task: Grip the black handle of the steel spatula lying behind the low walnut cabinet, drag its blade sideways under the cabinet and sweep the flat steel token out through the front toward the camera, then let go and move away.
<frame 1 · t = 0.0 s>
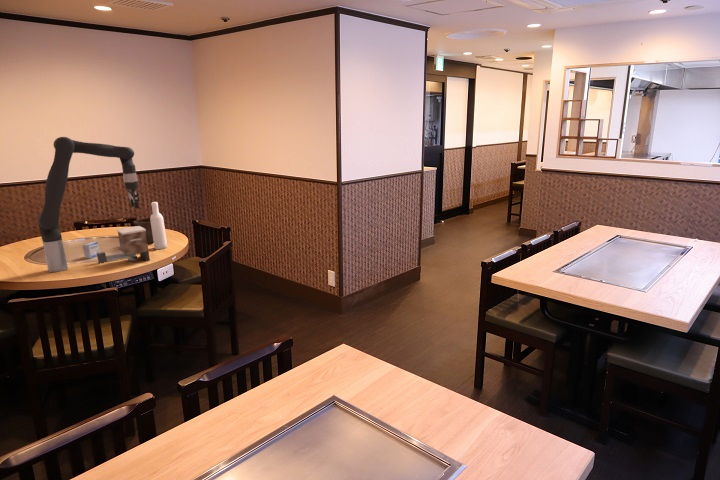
hand: (135, 207, 285), 29 cm above the table, tool pointing down, fingers open, 8 cm apart
walnut cabinet: (136, 260, 278), on the table
bottle: (161, 248, 305), on the table
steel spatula: (102, 262, 276), on the table
steel token: (133, 260, 280), on the table
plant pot: (149, 243, 318), on the table
medicine box: (92, 257, 290), on the table
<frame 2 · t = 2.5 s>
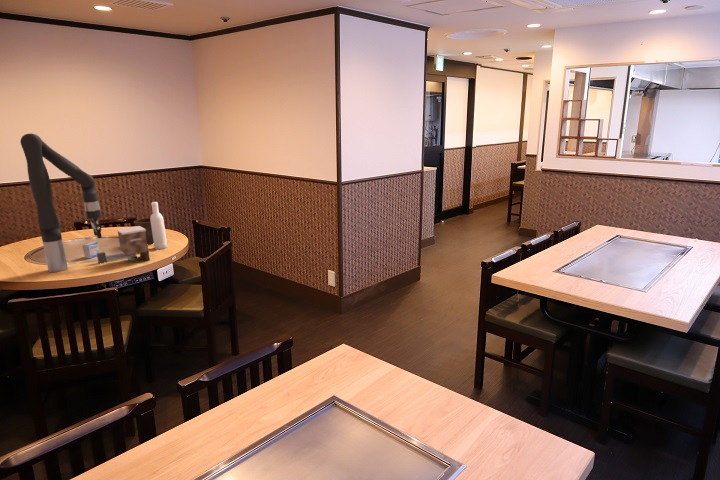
hand: (98, 236, 273), 16 cm above the table, tool pointing down, fingers open, 8 cm apart
nothing on the table moved.
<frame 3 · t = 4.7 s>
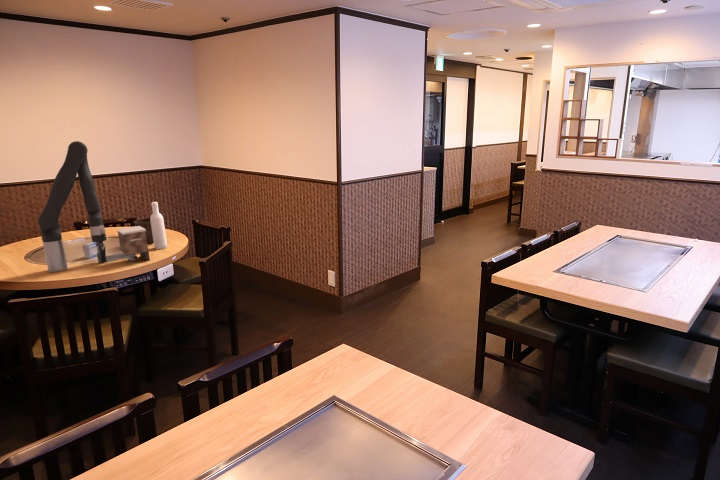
hand: (103, 261, 276), 1 cm above the table, tool pointing down, fingers closed on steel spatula, 3 cm apart
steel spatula: (102, 262, 276), on the table, touching gripper
everything else where it was.
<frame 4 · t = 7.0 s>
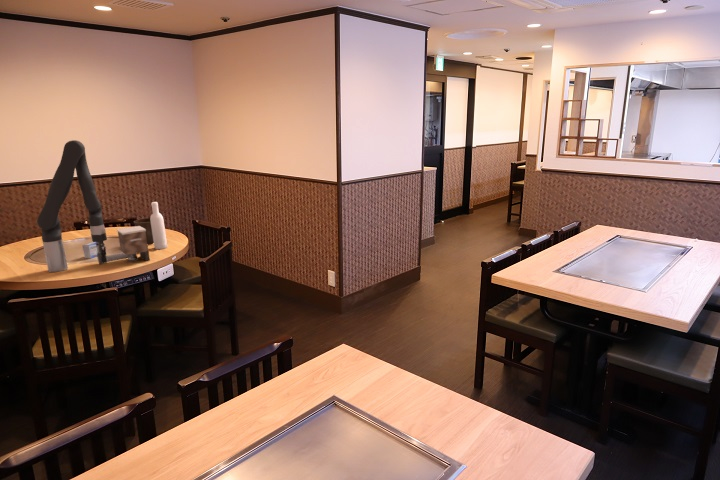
hand: (103, 261, 274), 1 cm above the table, tool pointing down, fingers closed on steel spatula, 3 cm apart
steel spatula: (102, 262, 274), point 1 cm above the table, touching gripper
everything else where it was.
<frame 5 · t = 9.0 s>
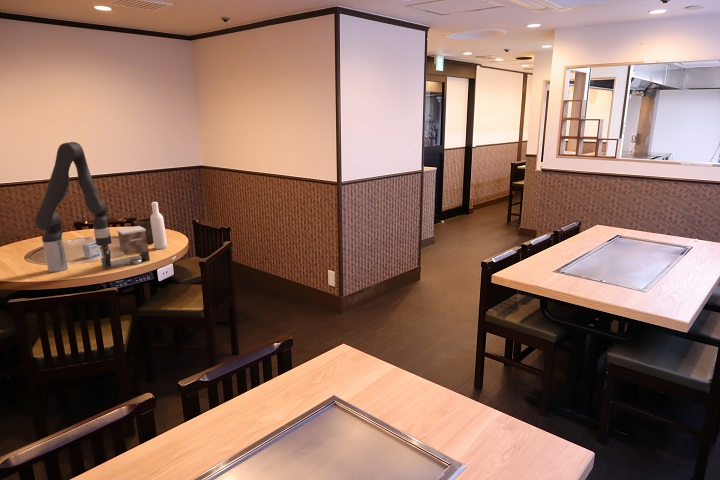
hand: (107, 265, 265), 1 cm above the table, tool pointing down, fingers closed on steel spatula, 3 cm apart
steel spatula: (107, 268, 265), on the table, touching gripper, steel token
steel token: (137, 263, 272), on the table, touching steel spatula
everything else where it was.
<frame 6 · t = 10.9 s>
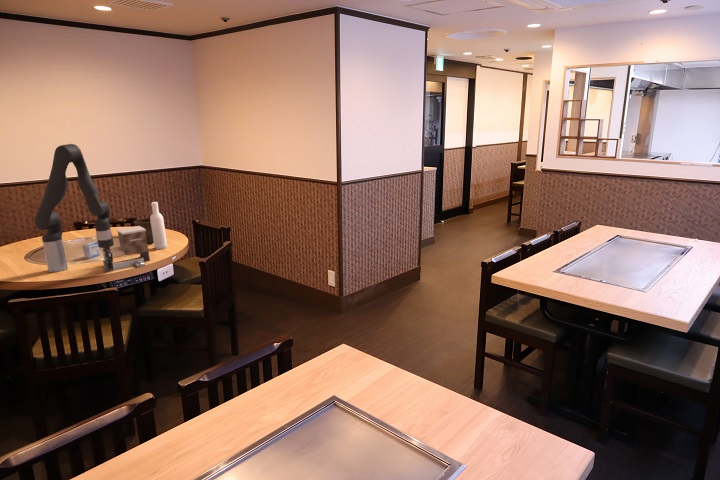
hand: (110, 268, 260), 1 cm above the table, tool pointing down, fingers closed on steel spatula, 3 cm apart
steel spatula: (109, 270, 260), on the table, touching gripper
steel token: (140, 266, 267), on the table
everything else where it was.
when the fingers open (1 cm above the table, at t = 12.0 s): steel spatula stays where it is, on the table.
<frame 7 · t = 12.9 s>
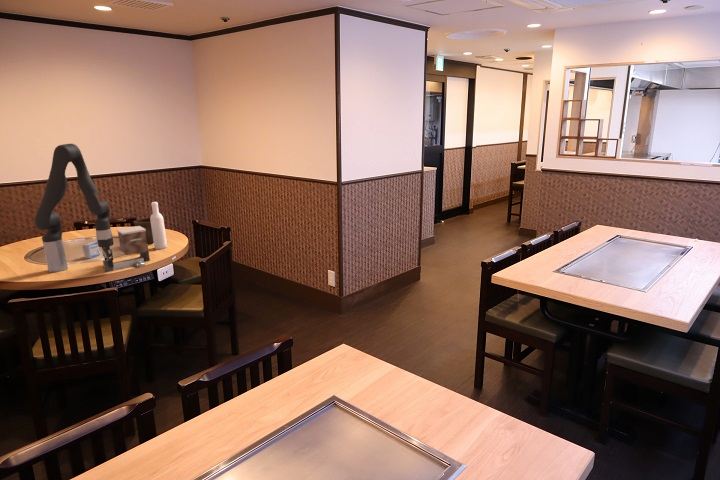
hand: (109, 265, 260), 3 cm above the table, tool pointing down, fingers open, 8 cm apart
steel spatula: (109, 270, 260), on the table
everything else where it was.
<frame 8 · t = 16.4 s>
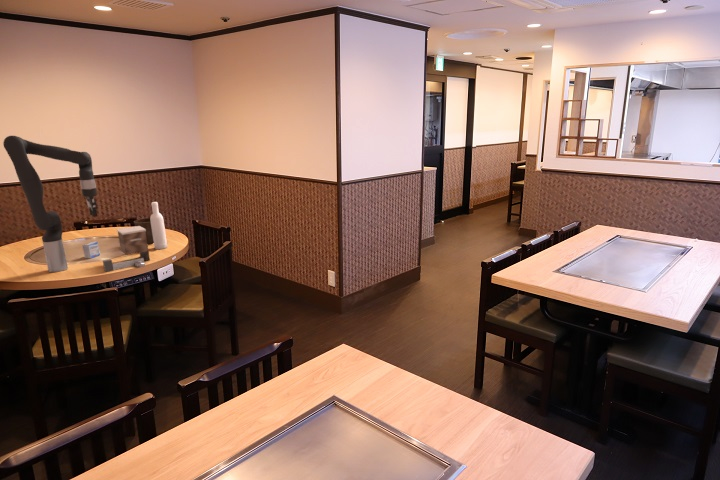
hand: (93, 215, 270), 28 cm above the table, tool pointing down, fingers open, 8 cm apart
nothing on the table moved.
at the end: steel token inside the target area (2.5 cm from its centre), on the table; steel token moved 16.6 cm from its start; the gripper is holding nothing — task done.
